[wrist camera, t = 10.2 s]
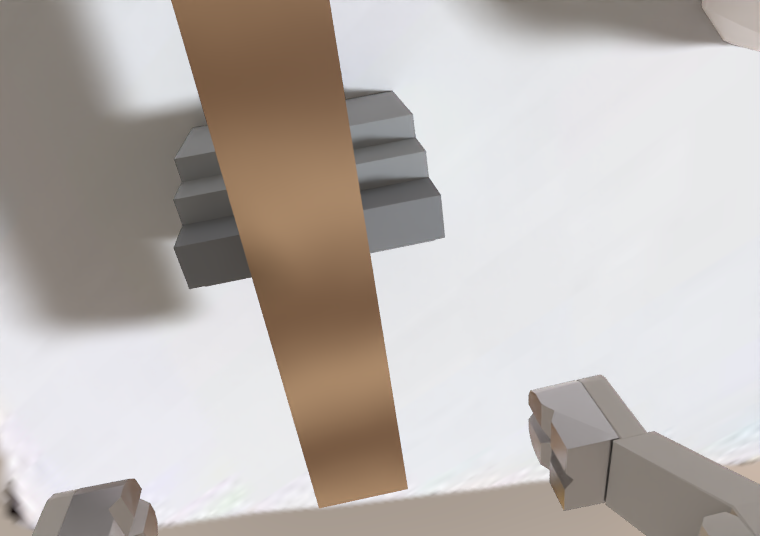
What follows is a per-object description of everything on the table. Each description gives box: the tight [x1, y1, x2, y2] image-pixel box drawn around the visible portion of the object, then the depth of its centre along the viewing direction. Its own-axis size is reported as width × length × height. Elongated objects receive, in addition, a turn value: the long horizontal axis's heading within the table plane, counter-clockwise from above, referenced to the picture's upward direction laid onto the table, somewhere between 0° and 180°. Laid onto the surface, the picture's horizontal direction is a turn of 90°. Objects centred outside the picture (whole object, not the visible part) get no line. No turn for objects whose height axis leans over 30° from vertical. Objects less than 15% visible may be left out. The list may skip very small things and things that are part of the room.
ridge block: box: [173, 91, 445, 289], centre depth 24 cm, size 6×10×9 cm, turn 98°
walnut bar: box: [171, 0, 408, 508], centre depth 19 cm, size 18×4×4 cm, turn 8°
